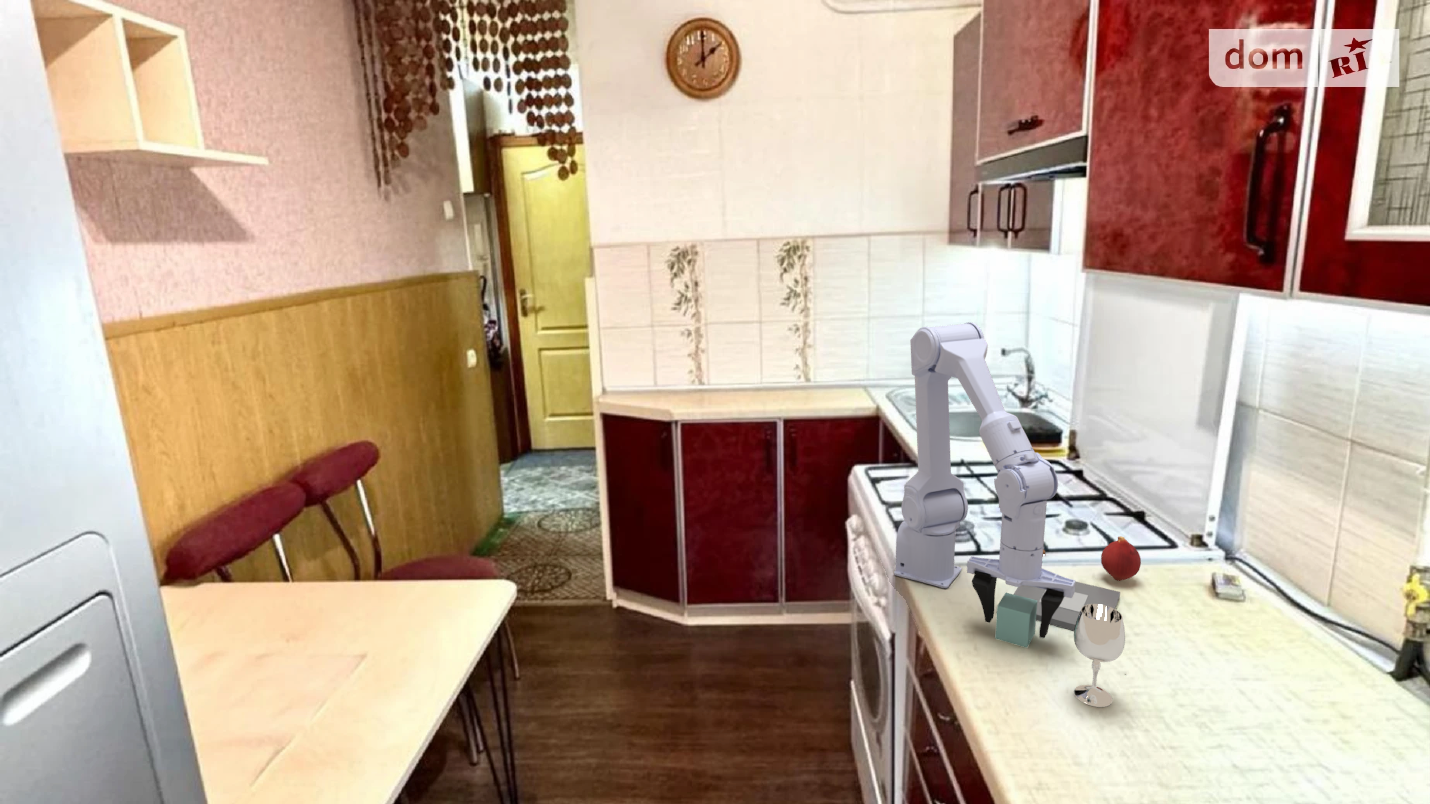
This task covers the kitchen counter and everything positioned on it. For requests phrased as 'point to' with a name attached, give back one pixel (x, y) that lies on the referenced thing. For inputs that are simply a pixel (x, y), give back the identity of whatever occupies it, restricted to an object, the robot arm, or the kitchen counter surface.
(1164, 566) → the kitchen counter surface
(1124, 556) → the onion
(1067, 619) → the tile
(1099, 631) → the wineglass
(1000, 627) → the block
